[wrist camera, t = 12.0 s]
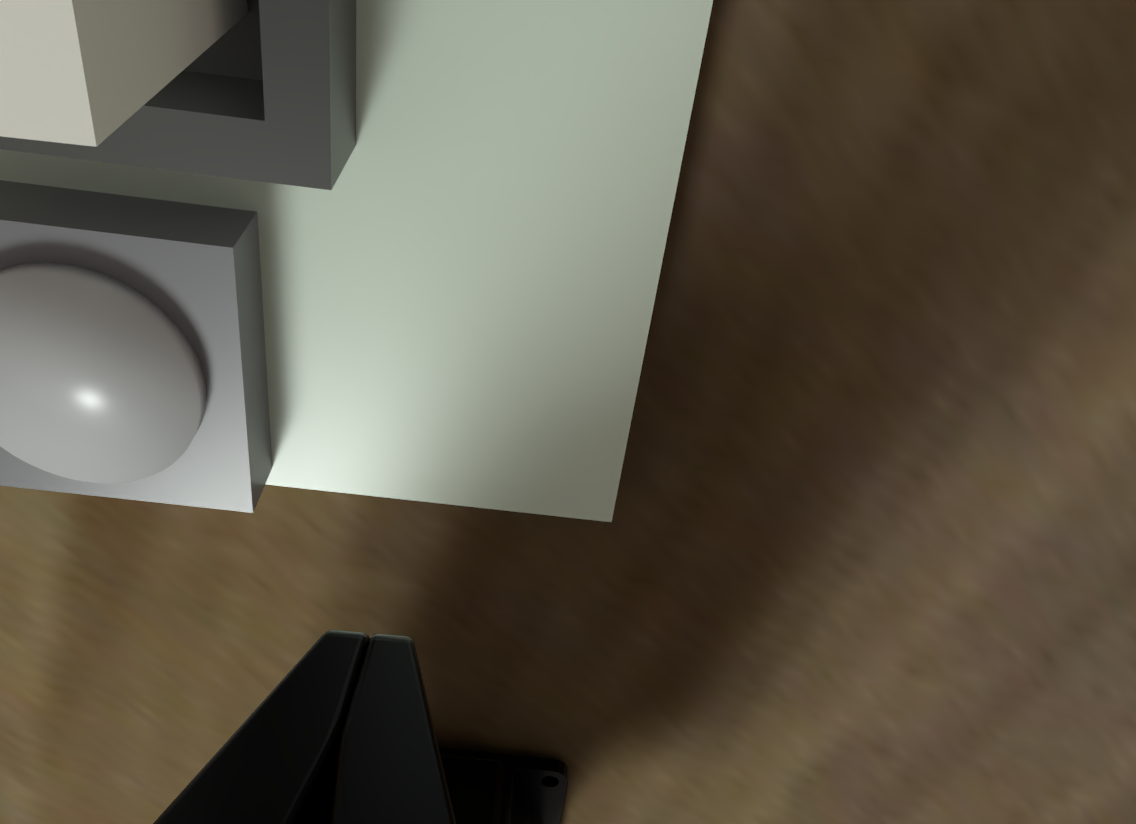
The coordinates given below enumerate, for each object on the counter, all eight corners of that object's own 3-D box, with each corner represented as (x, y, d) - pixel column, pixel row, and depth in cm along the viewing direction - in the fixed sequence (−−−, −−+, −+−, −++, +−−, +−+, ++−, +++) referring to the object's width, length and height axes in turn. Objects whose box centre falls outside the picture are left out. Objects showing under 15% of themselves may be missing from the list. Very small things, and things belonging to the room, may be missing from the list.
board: (611, 493, 23) (612, 586, 21) (-7, 425, 23) (-80, 512, 20) (813, -570, 13) (862, -633, 11) (-305, -753, 12) (-527, -865, 10)
